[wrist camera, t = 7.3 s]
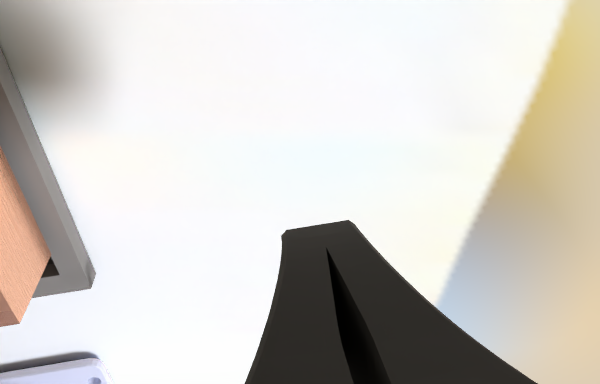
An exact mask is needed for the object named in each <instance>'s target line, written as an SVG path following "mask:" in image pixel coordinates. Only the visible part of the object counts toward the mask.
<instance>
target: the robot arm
mask: <svg viewBox="0 0 600 384" xmlns="http://www.w3.org/2000/svg"><path fill="white" fill-rule="evenodd" d="M281 237H282V254H281V263H280V269H279V275H278V280H277V284H276V289H275V293H274V297H273V301H272V305H271V309H270V313H269V316H268V319H267V323H266V326H265V329H264V332H263V335H262V338H261V341H260V344H259V347H258V350H257V353H256V356H255V359H254V361H253V364H252V367H251V369H250V372H249V374H248V377H247V379H246V382H245V384H537V383H536V382H534V381H533V380H531V379H529V378H528V377H527V376H525V375H524V374H522V373H521V372H519V371H518V370H516V369H515V368H513V367H512V366H510V365H509V364H507V363H506V362H505V361H503V360H502V359H500V358H499V357H498V356H496V355H495V354H494V353H492V352H490V350H488V349H487V348H485V347H484V346H483V345H481V344H480V343H479V342H477V341H476V340H475V339H473V338H472V337H471V336H469V335H468V334H467V333H466V332H464V331H463V330H462V329H461V328H459V327H458V326H457V325H456V324H455V323H453V322H452V321H451V320H450V319H448V318H447V317H446V316H445V315H444V314H443V313H442V312H440V311H439V310H438V309H437V308H436V307H434V306H433V305H432V304H431V303H430V302H429V301H428V300H427V299H425V298H424V297H423V296H422V295H421V294H420V293H419V292H418V291H417V290H416V289H415V288H414V287H413V286H412V285H410V284H409V283H408V282H407V281H406V280H405V279H404V278H403V277H402V276H401V275H400V274H399V273H398V272H397V271H396V270H395V269H394V268H393V267H392V266H391V265H390V264H389V263H388V262H387V261H386V260H385V259H384V258H383V257H382V255H381V254H380V253H379V252H378V251H377V250H376V249H375V248H374V247H373V246H372V245H371V243H370V242H369V241H368V240H367V239H366V238H365V237H364V235H363V234H362V233H361V232H360V231H359V229H358V228H357V227H356V226H355V224H353V223H352V222H351V221H349V220H346V221H340V222H333V223H327V224H321V225H315V226H309V227H303V228H296V229H290V230H286V231H285V232H284V234H283V235H282V236H281ZM0 384H114V383H113V381H112V379H111V377H110V374H109V372H108V370H107V368H106V366H105V364H104V363H103V362H102V361H101V360H99V359H96V358H87V359H81V360H75V361H69V362H63V363H57V364H51V365H45V366H39V367H33V368H27V369H21V370H15V371H9V372H3V373H0Z"/></svg>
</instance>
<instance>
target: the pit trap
mask: <svg viewBox="0 0 600 384" xmlns="http://www.w3.org/2000/svg"><path fill="white" fill-rule="evenodd" d="M0 146H1V148H2V150H3V153H4V155H5V157H6V159H7V161H8V163H9V165H10V167H11V170H12V172H13V174H14V176H15V178H16V180H17V182H18V184H19V186H20V189H21V191H22V193H23V195H24V197H25V199H26V201H27V203H28V205H29V208H30V210H31V212H32V214H33V216H34V218H35V220H36V222H37V225H38V227H39V229H40V231H41V233H42V235H43V237H44V239H45V241H46V244H47V246H48V248H49V250H50V252H51V256H50V259H49V261H48V263H47V265H46V267H45V269H44V272H43V274H42V276H41V278H40V280H39V282H38V285H37V287H36V289H35V291H34V293H33V296H32V298H35V297H41V296H48V295H54V294H60V293H66V292H73V291H79V290H85V289H91V287H92V284H93V281H94V278H95V275H96V273H95V270H94V268H93V265H92V263H91V261H90V258H89V256H88V254H87V251H86V249H85V246H84V244H83V242H82V239H81V237H80V235H79V232H78V230H77V227H76V225H75V223H74V220H73V218H72V216H71V213H70V211H69V209H68V206H67V204H66V201H65V199H64V197H63V194H62V192H61V190H60V187H59V185H58V182H57V180H56V178H55V175H54V173H53V171H52V168H51V166H50V163H49V161H48V159H47V156H46V154H45V152H44V149H43V147H42V145H41V142H40V140H39V137H38V135H37V133H36V130H35V128H34V126H33V123H32V121H31V118H30V116H29V114H28V111H27V109H26V107H25V104H24V102H23V99H22V97H21V95H20V92H19V90H18V88H17V85H16V83H15V81H14V78H13V76H12V73H11V71H10V69H9V66H8V64H7V62H6V59H5V57H4V54H3V52H2V50H1V47H0Z"/></svg>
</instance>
